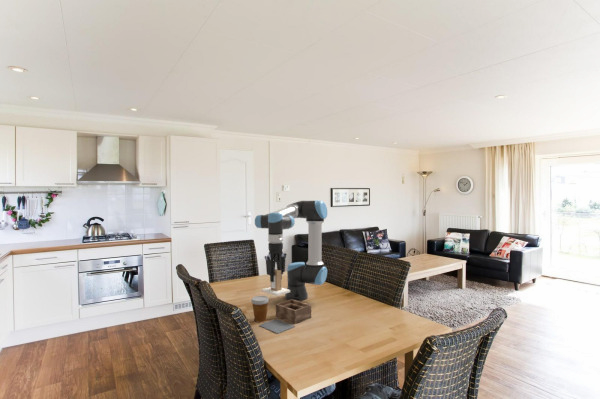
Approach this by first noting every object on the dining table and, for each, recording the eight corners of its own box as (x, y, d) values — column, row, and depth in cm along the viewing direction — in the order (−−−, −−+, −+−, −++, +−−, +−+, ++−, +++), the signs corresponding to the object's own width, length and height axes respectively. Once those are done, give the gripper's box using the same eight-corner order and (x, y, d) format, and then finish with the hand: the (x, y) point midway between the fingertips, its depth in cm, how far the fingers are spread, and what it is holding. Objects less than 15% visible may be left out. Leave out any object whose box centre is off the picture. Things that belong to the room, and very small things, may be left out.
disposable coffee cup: (252, 324, 177) (252, 301, 177) (250, 317, 186) (250, 296, 186) (270, 322, 179) (270, 300, 179) (267, 315, 189) (267, 294, 188)
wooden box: (275, 316, 187) (275, 304, 187) (292, 310, 196) (291, 299, 196) (295, 324, 176) (295, 310, 176) (311, 317, 185) (311, 305, 185)
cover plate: (262, 291, 174) (261, 270, 174) (275, 287, 180) (274, 267, 180) (277, 295, 165) (276, 273, 165) (290, 292, 172) (289, 270, 172)
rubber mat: (258, 325, 174) (258, 325, 174) (276, 319, 183) (276, 318, 183) (277, 334, 164) (277, 333, 164) (295, 326, 172) (295, 326, 172)
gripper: (268, 244, 164) (268, 291, 164) (291, 241, 176) (292, 285, 176) (258, 243, 170) (259, 289, 170) (282, 240, 181) (282, 282, 181)
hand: (276, 287), depth 173 cm, fingers closed on cover plate, 3 cm apart
